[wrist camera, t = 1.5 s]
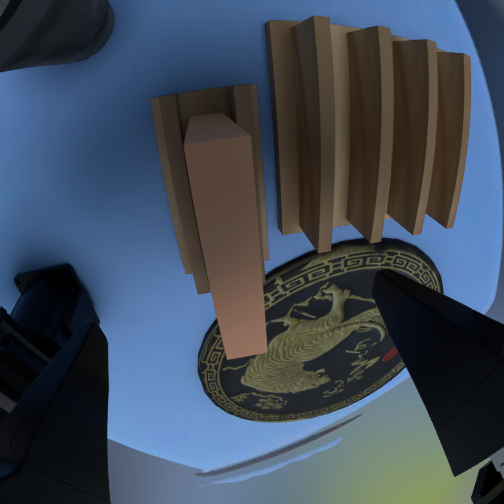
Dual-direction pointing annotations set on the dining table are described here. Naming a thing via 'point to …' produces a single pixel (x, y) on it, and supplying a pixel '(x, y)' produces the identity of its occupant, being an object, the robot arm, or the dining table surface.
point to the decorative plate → (316, 335)
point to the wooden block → (228, 228)
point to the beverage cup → (52, 31)
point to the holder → (175, 168)
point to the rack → (365, 128)
